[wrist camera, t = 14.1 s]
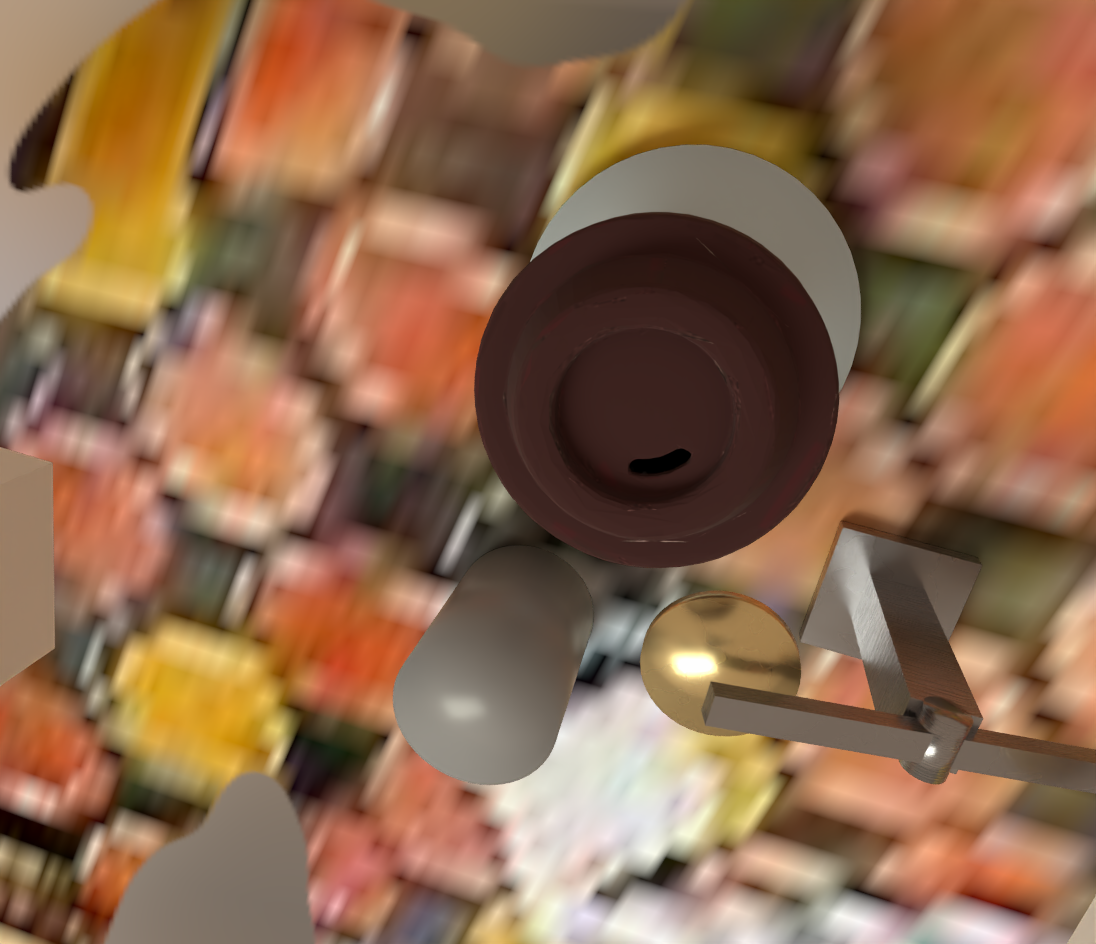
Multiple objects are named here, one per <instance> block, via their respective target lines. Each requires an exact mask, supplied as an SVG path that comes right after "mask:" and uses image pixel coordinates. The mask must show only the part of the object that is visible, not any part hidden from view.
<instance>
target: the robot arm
mask: <svg viewBox="0 0 1096 944" xmlns="http://www.w3.org/2000/svg"><path fill="white" fill-rule="evenodd" d="M54 648H55V621H54V534H53V463H52V462H49V461H45V460H42V459H38V458H35V457H32V456H28V455H25V454H21V453H18V452H15V451H11V450H8V449H4V448H1V447H0V686H1V685H2V684H4V683H5V682H7V681H8V680H10V679H11V678H13V677H14V676H15V675H17V674H18V673H20V672H21V671H23V670H24V669H25V668H27V667H28V666H30V665H31V664H33V663H34V662H36V661H37V660H38V659H40V658H41V657H43V656H44V655H46V654H47V653H49V652H50V651H51V650H53V649H54ZM1067 944H1096V896H1095V898H1094V900H1093V901H1092V903H1091V905H1090V906H1089V908H1088V910H1087V911H1086V913H1085V915H1084V916H1083V918H1082V920H1081V921H1080V923H1079V925H1078V926H1077V928H1076V930H1075V931H1074V933H1073V935H1072V936H1071V938H1070V940H1069V941H1068V943H1067Z"/></svg>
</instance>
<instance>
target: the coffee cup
mask: <svg viewBox="0 0 1096 944" xmlns="http://www.w3.org/2000/svg"><path fill="white" fill-rule="evenodd" d="M474 393H475V408H476V414H477V420H478V427H479V431H480V434H481V438H482V441H483V445H484V447H485V450H486V452H487V455H488V457H489V459H490V462H491V464H492V466H493V468H494V470H495V472H496V473H497V475H498V477H499V479H500V480H501V482H502V484H503V485H504V487H505V488H506V490H507V491H508V493H509V494H510V495H511V497H512V498H513V499H514V500H515V501H516V502H517V504H518V505H519V506H520V507H521V508H522V509H523V510H524V512H525V513H526V514H527V515H528V516H529V517H530V518H532V519H533V520H534V521H535V522H536V523H538V524H539V525H540V526H542V527H543V528H544V529H545V530H547V531H548V532H549V533H551V534H552V535H553V536H555V537H556V538H558V539H559V540H561V541H563V542H565V543H567V544H568V545H570V546H572V547H574V548H576V549H578V550H580V551H582V552H584V553H586V554H589V555H591V556H594V557H597V558H599V559H603V560H606V561H609V562H613V563H618V564H622V565H627V566H635V567H643V568H666V567H682V566H688V565H694V564H700V563H704V562H708V561H711V560H715V559H718V558H721V557H723V556H726V555H728V554H730V553H733V552H735V551H737V550H739V549H741V548H743V547H745V546H747V545H749V544H751V543H752V542H754V541H756V540H757V539H759V538H760V537H762V536H763V535H765V534H766V533H768V532H769V531H770V530H771V529H773V528H774V527H775V526H777V525H778V524H779V523H780V522H781V521H782V520H783V519H784V518H785V517H787V516H788V515H789V514H790V513H791V512H792V511H793V510H794V509H795V508H796V507H797V505H798V504H799V503H800V501H801V500H802V499H803V497H804V496H805V495H806V493H807V492H808V491H809V489H810V488H811V486H812V484H813V483H814V481H815V479H816V478H817V476H818V474H819V473H820V471H821V469H822V466H823V464H824V462H825V460H826V457H827V455H828V452H829V449H830V446H831V443H832V441H833V436H834V432H835V428H836V423H837V416H838V407H839V378H838V369H837V363H836V358H835V354H834V349H833V346H832V343H831V340H830V336H829V333H828V330H827V328H826V326H825V323H824V321H823V319H822V317H821V315H820V313H819V311H818V309H817V307H816V305H815V304H814V302H813V300H812V299H811V297H810V296H809V294H808V293H807V291H806V290H805V288H804V287H803V285H802V284H801V282H800V281H799V279H798V278H797V277H796V276H795V275H794V274H793V273H792V271H791V270H790V269H789V268H788V267H787V266H786V265H785V264H784V263H783V262H782V261H781V260H780V259H779V258H778V257H777V256H775V255H774V254H773V253H772V252H770V251H769V250H768V249H767V248H766V247H764V246H763V245H762V244H760V243H759V242H757V241H756V240H754V239H752V238H751V237H749V236H748V235H746V234H744V233H742V232H740V231H738V230H736V229H734V228H732V227H730V226H727V225H724V224H722V223H719V222H716V221H714V220H710V219H706V218H702V217H698V216H694V215H690V214H682V213H672V212H644V213H633V214H628V215H623V216H618V217H614V218H610V219H607V220H604V221H601V222H598V223H595V224H592V225H589V226H587V227H585V228H582V229H580V230H577V231H575V232H573V233H571V234H569V235H568V236H566V237H564V238H562V239H561V240H559V241H557V242H555V243H554V244H552V245H551V246H549V247H548V248H547V249H546V250H544V251H543V252H542V253H540V254H539V255H538V256H536V257H535V258H534V259H533V260H532V261H531V262H530V263H529V264H528V265H527V266H526V267H525V268H524V269H523V270H522V271H521V272H520V273H519V274H518V275H517V276H516V277H515V278H514V279H513V281H512V282H511V283H510V285H509V286H508V288H507V289H506V290H505V292H504V293H503V295H502V296H501V298H500V299H499V301H498V303H497V305H496V306H495V308H494V310H493V312H492V314H491V317H490V319H489V322H488V324H487V326H486V329H485V331H484V334H483V337H482V340H481V344H480V348H479V353H478V357H477V362H476V371H475V388H474Z"/></svg>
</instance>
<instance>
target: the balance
mask: <svg viewBox="0 0 1096 944" xmlns="http://www.w3.org/2000/svg"><path fill="white" fill-rule="evenodd" d="M981 567H982V564H981V562H980V560H979V559H978V557H974V556H970V555H967V554H963V553H959V552H956V551H952V550H948V549H944V548H941V547H937V546H933V545H930V544H926V543H922V542H918V541H915V540H911V539H907V538H904V537H900V536H896V535H893V534H889V533H885V532H881V531H878V530H874V529H870V528H867V527H863V526H859V525H855V524H852V523H848V522H844V521H841V522H840V525H839V527H838V530H837V533H836V535H835V538H834V541H833V543H832V546H831V549H830V552H829V554H828V557H827V560H826V562H825V565H824V568H823V570H822V573H821V576H820V579H819V581H818V584H817V587H816V589H815V592H814V595H813V597H812V600H811V603H810V606H809V608H808V611H807V614H806V616H805V619H804V622H803V624H802V627H801V630H800V633H799V635H800V642H803V643H806V644H810V645H813V646H817V647H820V648H824V649H827V650H831V651H834V652H838V653H841V654H844V655H848V656H851V657H855V658H858V659H862V660H863V664H864V668H865V672H866V676H867V680H868V684H869V688H870V692H871V695H872V699H873V703H874V707H875V710H870V709H864V708H858V707H853V706H847V705H842V704H836V703H830V702H825V701H819V700H814V699H808V698H802V697H797V696H796V694H797V691H798V688H799V685H800V678H801V664H800V657H799V651H798V647H797V644H796V641H795V638H794V636H793V634H792V632H791V630H790V629H789V627H788V626H787V625H786V623H785V622H784V621H783V620H782V619H781V618H780V616H779V615H778V614H776V613H775V612H774V611H773V610H772V609H770V608H769V607H768V606H766V605H764V604H763V603H761V602H759V601H757V600H755V599H753V598H751V597H748V596H745V595H742V594H738V593H734V592H727V591H705V592H698V593H694V594H690V595H688V596H685V597H682V598H680V599H678V600H676V601H674V602H673V603H671V604H670V605H668V606H667V607H666V608H664V609H663V610H662V611H661V612H660V613H659V614H658V615H657V616H656V617H655V619H654V620H653V621H652V623H651V624H650V626H649V628H648V630H647V632H646V635H645V638H644V642H643V647H642V652H641V660H640V667H641V675H642V679H643V682H644V685H645V687H646V690H647V692H648V693H649V695H650V697H651V699H652V700H653V701H654V703H655V704H656V705H657V706H658V707H659V708H660V709H661V711H662V712H663V713H665V714H666V715H667V716H668V717H669V718H671V719H672V720H674V721H675V722H677V723H678V724H680V725H682V726H684V727H686V728H688V729H691V730H694V731H696V732H700V733H704V734H708V735H715V736H738V735H743V734H748V733H750V734H756V735H762V736H768V737H773V738H779V739H785V740H791V741H796V742H802V743H808V744H814V745H819V746H825V747H831V748H837V749H842V750H848V751H854V752H860V753H865V754H871V755H877V756H883V757H888V758H894V759H899V762H900V764H901V766H902V767H903V768H904V769H905V770H906V771H907V772H908V773H909V774H911V775H912V776H914V777H915V778H917V779H919V780H921V781H923V782H926V783H930V784H942V783H944V782H945V781H946V779H947V777H948V774H949V772H950V773H954V774H956V773H957V771H958V770H963V771H969V772H975V773H980V774H986V775H992V776H998V777H1003V778H1009V779H1015V780H1021V781H1026V782H1032V783H1038V784H1044V785H1049V786H1055V787H1061V788H1067V789H1072V790H1078V791H1084V792H1090V793H1095V794H1096V750H1094V749H1089V748H1083V747H1077V746H1072V745H1066V744H1061V743H1055V742H1049V741H1044V740H1038V739H1033V738H1027V737H1021V736H1016V735H1010V734H1004V733H999V732H993V731H988V730H982V729H978V728H979V726H980V724H981V722H982V720H983V717H982V715H981V713H980V710H979V708H978V706H977V704H976V702H975V699H974V697H973V695H972V693H971V691H970V688H969V686H968V684H967V682H966V679H965V677H964V675H963V673H962V671H961V668H960V666H959V664H958V662H957V660H956V657H955V655H954V653H953V651H952V648H951V646H950V644H949V642H948V641H949V639H950V637H951V634H952V632H953V630H954V628H955V625H956V623H957V621H958V619H959V616H960V614H961V612H962V610H963V608H964V605H965V603H966V601H967V599H968V596H969V594H970V592H971V590H972V587H973V585H974V583H975V581H976V579H977V576H978V574H979V572H980V570H981Z"/></svg>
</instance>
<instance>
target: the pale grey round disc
mask: <svg viewBox="0 0 1096 944" xmlns="http://www.w3.org/2000/svg"><path fill="white" fill-rule="evenodd" d="M644 212H672V213H682V214H690V215H694V216H698V217H702V218H706V219H710V220H714V221H716V222H719V223H722V224H724V225H727V226H730V227H732V228H734V229H736V230H738V231H740V232H742V233H744V234H746V235H748V236H749V237H751V238H752V239H754V240H756V241H757V242H759V243H760V244H762V245H763V246H764V247H766V248H767V249H768V250H769V251H770V252H772V253H773V254H774V255H775V256H777V257H778V258H779V259H780V260H781V261H782V262H783V263H784V264H785V265H786V266H787V267H788V268H789V269H790V270H791V271H792V273H793V274H794V275H795V276H796V277H797V278H798V279H799V281H800V282H801V284H802V285H803V287H804V288H805V290H806V291H807V293H808V294H809V296H810V297H811V299H812V300H813V302H814V304H815V305H816V307H817V309H818V311H819V313H820V315H821V317H822V319H823V321H824V323H825V326H826V328H827V330H828V333H829V336H830V340H831V343H832V346H833V349H834V354H835V358H836V363H837V369H838V378H839V392H840V391H841V389H842V387H843V385H844V383H845V380H846V378H847V376H848V373H849V371H850V369H851V366H852V363H853V359H854V356H855V352H856V348H857V345H858V339H859V331H860V324H861V296H860V289H859V282H858V275H857V271H856V268H855V264H854V261H853V258H852V254H851V251H850V249H849V247H848V245H847V242H846V240H845V238H844V236H843V234H842V231H841V230H840V228H839V227H838V225H837V223H836V222H835V220H834V219H833V217H832V216H831V214H830V213H829V211H828V210H827V209H826V208H825V206H824V205H823V204H822V203H821V202H820V201H819V199H818V198H817V197H816V196H815V195H814V194H813V193H812V192H811V191H810V190H809V189H808V188H806V187H805V186H804V185H803V184H802V183H801V182H800V181H798V180H797V179H796V178H795V177H793V176H792V175H790V174H789V173H787V172H786V171H784V170H782V169H781V168H779V167H778V166H776V165H774V164H772V163H770V162H768V161H766V160H763V159H761V158H759V157H757V156H755V155H752V154H748V153H745V152H741V151H738V150H735V149H731V148H725V147H718V146H711V145H679V146H671V147H664V148H658V149H655V150H651V151H647V152H644V153H640V154H637V155H634V156H632V157H630V158H627V159H625V160H623V161H620V162H618V163H616V164H614V165H612V166H611V167H609V168H607V169H606V170H604V171H602V172H601V173H599V174H597V175H596V176H594V177H593V178H592V179H591V180H589V181H588V182H587V183H585V184H584V185H583V186H582V187H580V188H579V189H578V190H577V191H576V192H575V193H574V194H573V195H572V196H571V197H570V198H569V199H568V200H567V201H566V202H565V203H564V204H563V205H562V207H561V208H560V209H559V211H558V212H557V213H556V215H555V216H554V217H553V219H552V220H551V221H550V223H549V224H548V226H547V227H546V229H545V231H544V233H543V235H542V236H541V238H540V240H539V242H538V244H537V246H536V248H535V251H534V253H533V256H532V258H531V261H532V260H533V259H534V258H535V257H536V256H538V255H539V254H540V253H542V252H543V251H544V250H546V249H547V248H548V247H549V246H551V245H552V244H554V243H555V242H557V241H559V240H561V239H562V238H564V237H566V236H568V235H569V234H571V233H573V232H575V231H577V230H580V229H582V228H585V227H587V226H589V225H592V224H595V223H598V222H601V221H604V220H607V219H610V218H614V217H618V216H623V215H628V214H633V213H644ZM531 261H530V262H531Z"/></svg>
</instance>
